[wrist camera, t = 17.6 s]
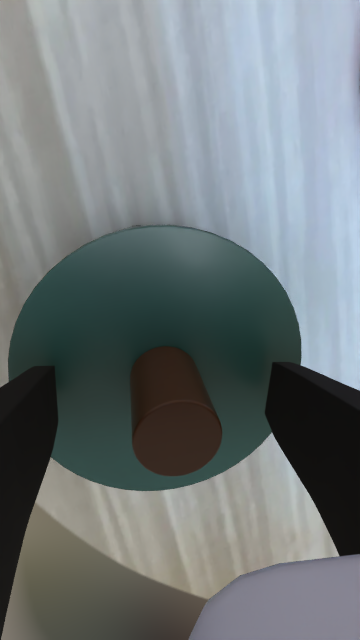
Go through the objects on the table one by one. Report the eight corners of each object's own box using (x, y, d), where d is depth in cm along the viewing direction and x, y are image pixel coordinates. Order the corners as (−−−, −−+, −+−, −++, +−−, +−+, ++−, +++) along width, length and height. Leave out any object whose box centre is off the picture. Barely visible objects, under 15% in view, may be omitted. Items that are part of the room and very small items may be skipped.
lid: (29, 481, 14) (-12, 602, 10) (1, 215, 11) (-81, 224, 6) (270, 464, 16) (323, 562, 11) (310, 230, 12) (407, 245, 8)
